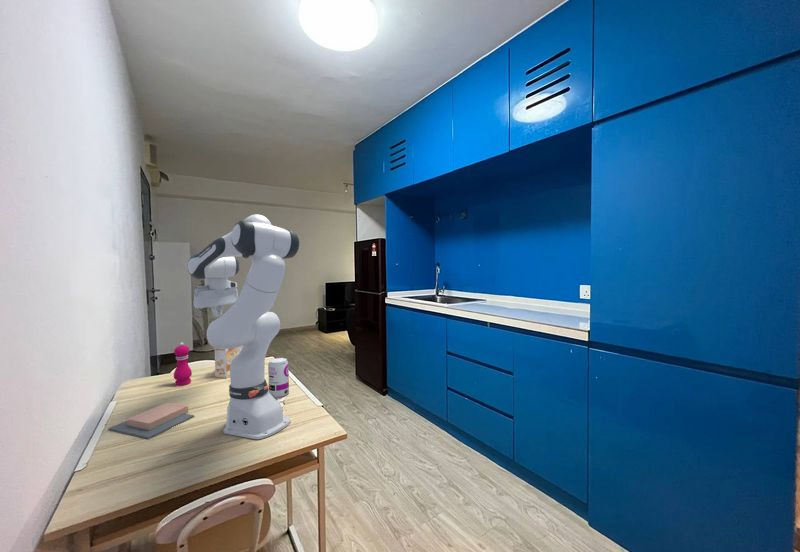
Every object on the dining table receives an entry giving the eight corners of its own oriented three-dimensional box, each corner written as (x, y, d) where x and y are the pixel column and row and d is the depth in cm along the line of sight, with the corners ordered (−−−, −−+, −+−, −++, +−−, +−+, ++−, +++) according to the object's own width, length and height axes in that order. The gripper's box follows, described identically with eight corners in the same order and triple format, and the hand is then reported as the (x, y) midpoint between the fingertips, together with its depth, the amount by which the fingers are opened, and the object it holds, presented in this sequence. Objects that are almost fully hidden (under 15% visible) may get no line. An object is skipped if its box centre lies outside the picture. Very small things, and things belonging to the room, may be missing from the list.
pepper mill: (195, 381, 157) (194, 340, 156) (184, 386, 150) (182, 344, 149) (182, 380, 158) (180, 340, 157) (170, 386, 150) (168, 344, 150)
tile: (167, 402, 125) (127, 418, 112) (187, 405, 122) (149, 423, 109) (167, 408, 125) (127, 425, 112) (188, 412, 122) (149, 430, 109)
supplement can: (291, 390, 144) (290, 357, 143) (285, 397, 135) (284, 362, 135) (273, 390, 143) (272, 357, 143) (266, 398, 135) (265, 363, 135)
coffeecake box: (227, 378, 160) (225, 339, 159) (214, 377, 161) (213, 339, 161) (247, 368, 175) (245, 333, 174) (235, 368, 176) (234, 332, 175)
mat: (156, 409, 126) (156, 408, 126) (194, 416, 120) (194, 415, 120) (108, 430, 111) (108, 428, 111) (149, 439, 104) (149, 437, 104)
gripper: (200, 286, 130) (201, 320, 131) (240, 283, 150) (241, 312, 150) (188, 286, 132) (190, 319, 133) (229, 283, 152) (230, 312, 152)
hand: (217, 315), depth 142 cm, fingers closed
